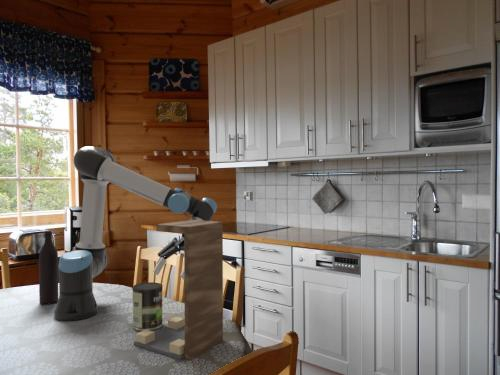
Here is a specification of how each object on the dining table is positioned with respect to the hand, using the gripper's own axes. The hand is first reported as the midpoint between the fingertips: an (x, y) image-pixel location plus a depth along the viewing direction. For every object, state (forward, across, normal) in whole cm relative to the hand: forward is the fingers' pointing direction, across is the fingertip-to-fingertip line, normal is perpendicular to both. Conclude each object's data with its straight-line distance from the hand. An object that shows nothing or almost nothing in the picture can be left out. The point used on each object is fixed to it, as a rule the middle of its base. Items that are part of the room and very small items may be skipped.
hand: (168, 275), depth 148 cm
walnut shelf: (+22, -23, 0) cm, 32 cm away
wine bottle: (+20, +55, -2) cm, 59 cm away
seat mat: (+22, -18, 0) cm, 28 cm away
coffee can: (+18, 0, -4) cm, 19 cm away
